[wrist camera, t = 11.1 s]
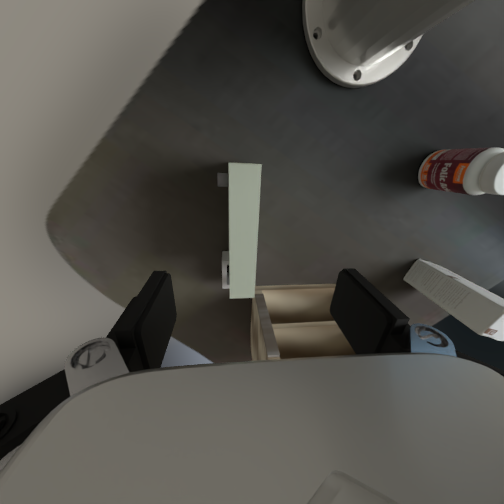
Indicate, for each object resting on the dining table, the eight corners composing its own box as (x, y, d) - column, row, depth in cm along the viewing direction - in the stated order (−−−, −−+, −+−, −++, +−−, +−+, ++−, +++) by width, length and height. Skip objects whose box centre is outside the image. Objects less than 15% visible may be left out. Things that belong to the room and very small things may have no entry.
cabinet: (232, 262, 29) (237, 351, 16) (356, 260, 31) (454, 337, 18) (232, 343, 36) (236, 456, 22) (334, 337, 38) (394, 435, 24)
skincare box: (443, 266, 34) (547, 316, 23) (426, 288, 35) (516, 345, 25) (415, 257, 32) (511, 306, 22) (399, 280, 34) (481, 337, 23)
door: (219, 161, 24) (214, 162, 14) (256, 163, 24) (273, 164, 15) (222, 277, 30) (220, 327, 21) (251, 276, 30) (261, 325, 21)
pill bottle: (413, 163, 26) (489, 164, 19) (448, 142, 26) (542, 134, 18) (419, 195, 28) (491, 208, 21) (453, 176, 28) (539, 181, 20)
